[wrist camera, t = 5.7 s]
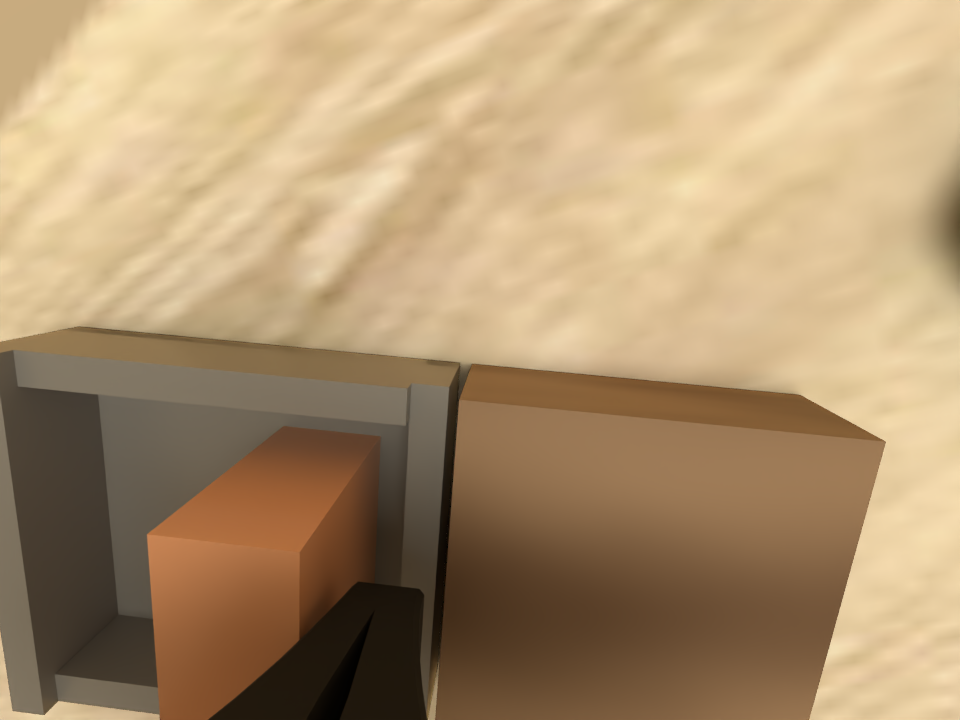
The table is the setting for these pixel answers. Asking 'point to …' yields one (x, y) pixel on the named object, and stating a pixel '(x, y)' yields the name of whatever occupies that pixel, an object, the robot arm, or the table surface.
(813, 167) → the table surface
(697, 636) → the block
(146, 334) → the box
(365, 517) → the tile
